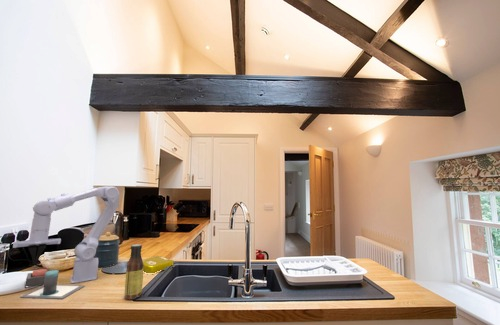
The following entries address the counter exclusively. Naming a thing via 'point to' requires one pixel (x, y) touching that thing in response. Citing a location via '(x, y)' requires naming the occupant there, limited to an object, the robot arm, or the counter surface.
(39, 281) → the button housing
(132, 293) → the sauce bottle
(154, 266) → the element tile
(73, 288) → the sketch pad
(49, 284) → the dark piece
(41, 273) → the button
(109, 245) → the canister
